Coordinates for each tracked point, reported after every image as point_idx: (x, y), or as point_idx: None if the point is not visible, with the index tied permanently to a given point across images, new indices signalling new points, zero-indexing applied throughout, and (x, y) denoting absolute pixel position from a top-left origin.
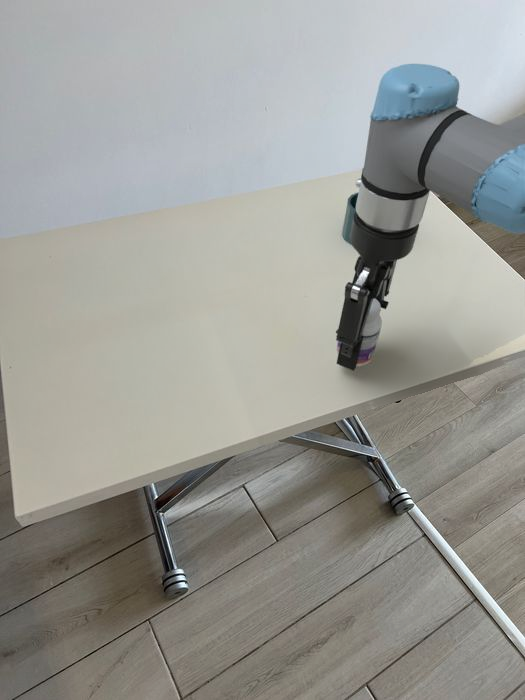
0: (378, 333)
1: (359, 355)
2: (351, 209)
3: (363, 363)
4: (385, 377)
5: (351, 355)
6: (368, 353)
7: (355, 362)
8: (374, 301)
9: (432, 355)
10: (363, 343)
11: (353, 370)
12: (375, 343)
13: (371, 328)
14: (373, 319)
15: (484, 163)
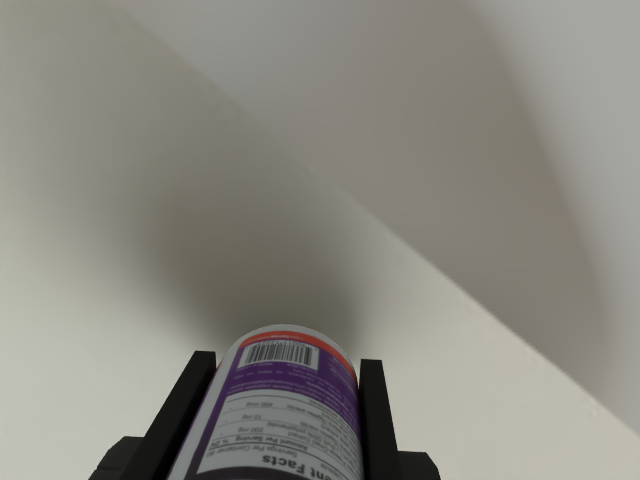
0: (269, 460)
1: (353, 403)
2: None
3: (333, 347)
4: (299, 233)
5: (420, 460)
6: (324, 378)
7: (387, 396)
8: None
9: (79, 103)
10: (355, 470)
11: (381, 362)
12: (284, 397)
13: None
14: None
15: None
